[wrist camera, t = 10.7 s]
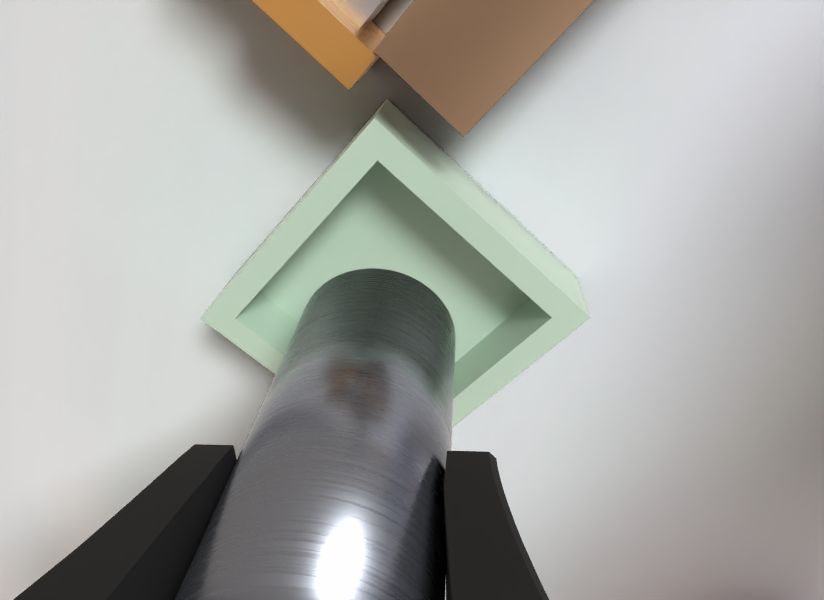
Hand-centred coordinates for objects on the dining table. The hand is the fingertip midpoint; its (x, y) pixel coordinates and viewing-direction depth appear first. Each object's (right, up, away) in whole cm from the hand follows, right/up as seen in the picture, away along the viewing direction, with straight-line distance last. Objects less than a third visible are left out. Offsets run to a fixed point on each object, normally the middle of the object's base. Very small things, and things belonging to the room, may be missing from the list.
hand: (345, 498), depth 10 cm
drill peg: (0, +2, +3) cm, 4 cm away
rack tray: (+1, +4, +7) cm, 8 cm away
